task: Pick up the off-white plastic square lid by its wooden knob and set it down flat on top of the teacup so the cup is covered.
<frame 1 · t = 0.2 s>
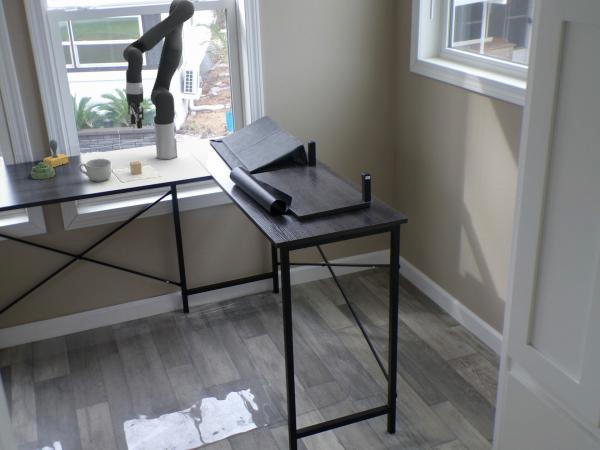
hand: (136, 126, 315), 17 cm above the table, tool pointing down, fingers open, 8 cm apart
decorative artifact: (43, 176, 302), on the table
lid: (136, 174, 306), on the table
teacup: (96, 179, 298), on the table
rubber stamp: (56, 164, 317), on the table
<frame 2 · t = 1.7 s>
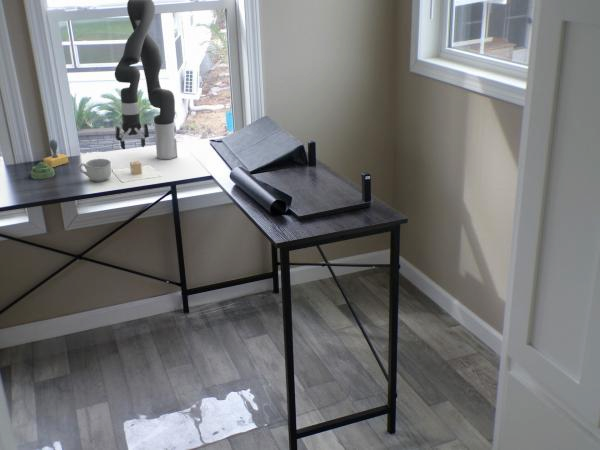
hand: (133, 147, 301), 12 cm above the table, tool pointing down, fingers open, 8 cm apart
nothing on the table moved.
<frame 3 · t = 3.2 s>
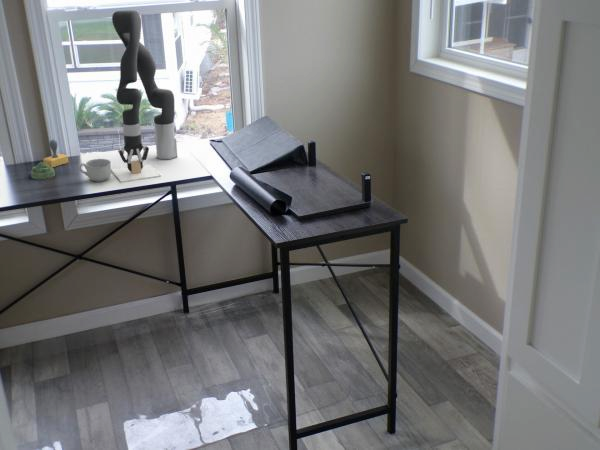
hand: (135, 169, 305), 2 cm above the table, tool pointing down, fingers closed on lid, 4 cm apart
lid: (135, 174, 306), on the table, touching gripper
everything else where it was.
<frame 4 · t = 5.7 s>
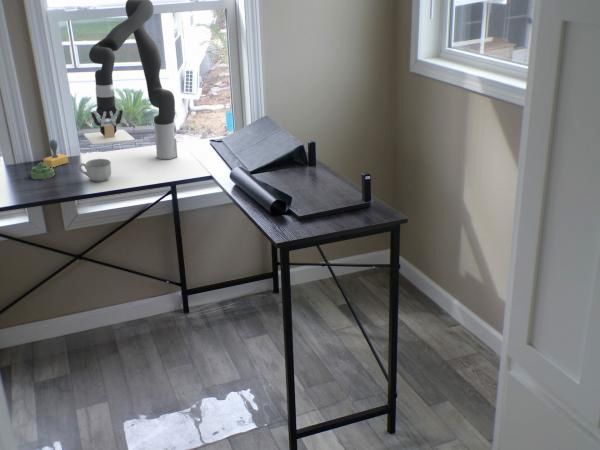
hand: (108, 133, 293), 20 cm above the table, tool pointing down, fingers closed on lid, 4 cm apart
lid: (109, 138, 294), point 18 cm above the table, touching gripper
everything else where it was.
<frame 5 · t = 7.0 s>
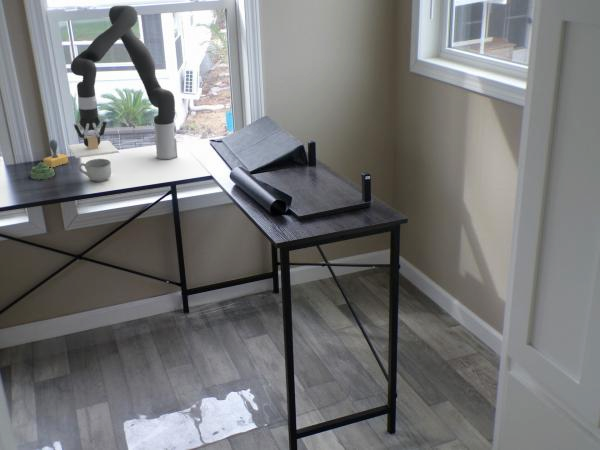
hand: (92, 145, 292), 16 cm above the table, tool pointing down, fingers closed on lid, 4 cm apart
lid: (92, 149, 292), point 14 cm above the table, touching gripper
everything else where it was.
when the fingers open (11 cm above the table, at t = 8.1 s): lid drops 1 cm, resting on teacup.
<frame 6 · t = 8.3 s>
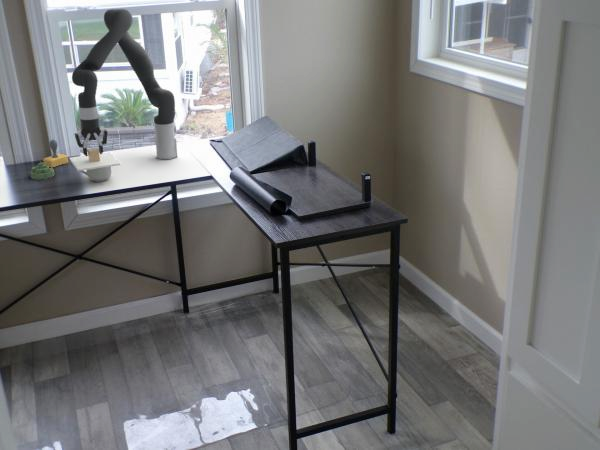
hand: (93, 154, 293), 11 cm above the table, tool pointing down, fingers open, 5 cm apart
lid: (94, 162, 295), point 8 cm above the table, touching teacup
teacup: (96, 179, 298), on the table, touching lid
everything else where it was.
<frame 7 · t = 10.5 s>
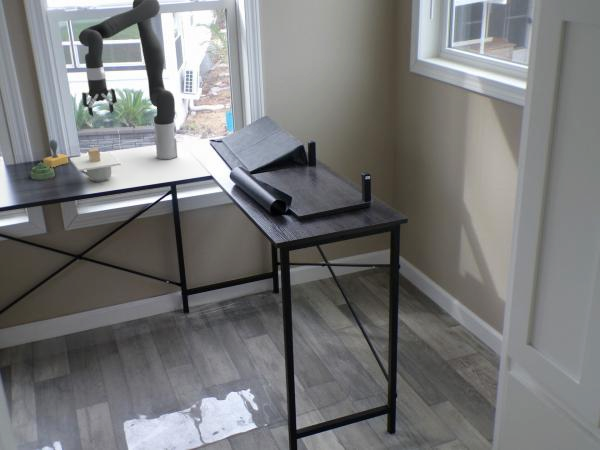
hand: (101, 114, 296), 27 cm above the table, tool pointing down, fingers open, 8 cm apart
nothing on the table moved.
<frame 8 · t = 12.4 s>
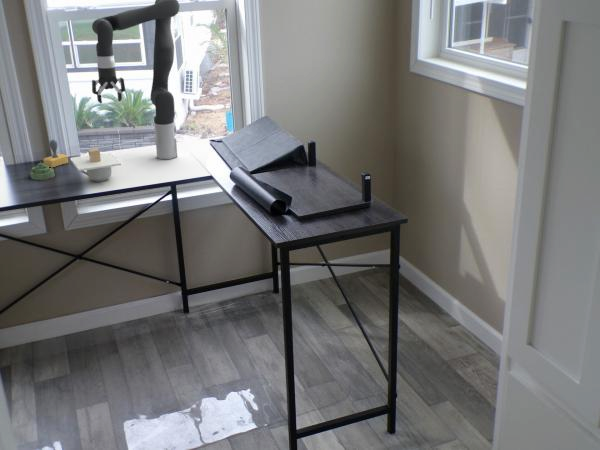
hand: (110, 102, 305), 30 cm above the table, tool pointing down, fingers open, 8 cm apart
nothing on the table moved.
at the end: lid 0.3 cm from the teacup (horizontally); lid point 7.9 cm above the table; lid tilted 0° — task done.
